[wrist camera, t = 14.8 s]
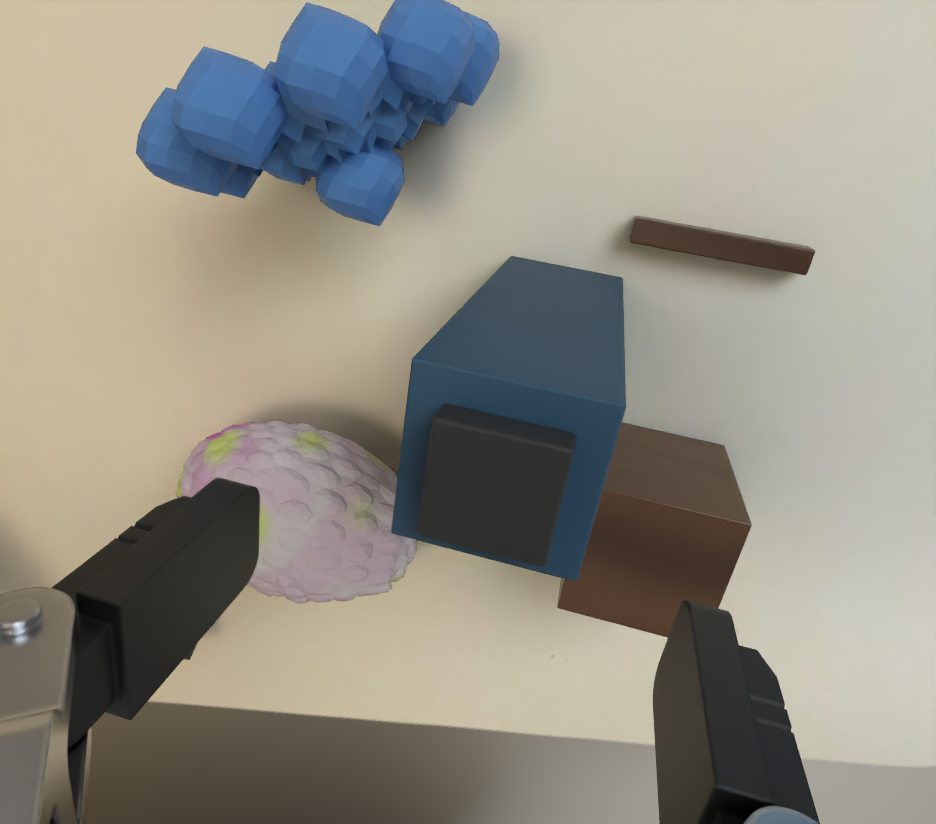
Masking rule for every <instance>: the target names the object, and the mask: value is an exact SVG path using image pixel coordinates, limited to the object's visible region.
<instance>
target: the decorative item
mask: <svg viewBox="0 0 936 824" xmlns="http://www.w3.org/2000/svg"><path fill="white" fill-rule="evenodd" d="M183 468H184V471H183V473H182V474H181V476H180V479H179V482H178V485H179V486H178V488H177V490H176V496H177V498H179V497H182V496H187V497H192V496H194V495H195V494H196V493H197V492H199V491H200V490H201V489H202V488H204V487H205V486H206V485H207V484H208V483H210V482H211V481H212V480H214V479H216V478H223V479H227V480H231V481H235V482H239V483H242V484H246V485H250V486H254V487H256V488H257V489H258V491H259V494H260V519H259V556H258V561H257V565H256V568H255V570H254V573H253V575H252V577H251V579H250V581H249V582H248V584H247V585H251V586H252V587H253V588H255V589H256V590H257V591H258V592H260V593H263V594H265V595H267V596H283V595H284V596H285V597H286V598H287V599H289V600H291V601H293V602H296V603H305V602H308V601H314V602H330V601H332V600H337V601H348V600H352V599H354V598H355V597H356V596H368V595H376V594H379V593H384V592H388V591H389V590H391V589H392V585H391V582H395V581H398V580H399V579H401V578H403V577H404V574H405V572H406V567H407V565H408V564H409V563H410V562H412V560H413V558H414V554H415V552H416V551H417V548H416V542H417V540H415V539H411V538H407V537H403V536H399V535H396V534H393V533H392V532H391V527H392V519H393V511H394V503H395V495H396V486H397V478H398V477H397V476H396V474H395V473H394V471H393V470H392V469H391V468H390V467H388V466H387V465H386V464H385V463H383V462H381V461H380V460H379V459H378V458H376V457H375V456H374V455H372V454H371V453H369V452H368V451H366V450H365V449H364V448H363V447H361V446H360V445H358V444H356V443H355V442H353V441H351V440H349V439H346V438H342V437H341V436H339V435H338V434H336V433H332V432H329V431H325V430H317V429H316V428H314V427H313V426H311V425H307V424H303V423H298V424H297V423H291V424H288V423H285V422H282V421H269V422H266V423H255V422H250V423H246V424H242V425H232V426H230V427H227V428H226V429H224V430H222V431H221V433H216V434H214V435H211V436H209V437H207V438H206V439H205V440H203V441H202V442H200V443H199V444H198V445H197V446H196V447H195V448H194V449H193V450H192V452H191V456H190V457H189V458H188V459H187V460H186V461H185V464H184V467H183Z"/></svg>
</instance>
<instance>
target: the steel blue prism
mask: <svg viewBox="0 0 936 824" xmlns="http://www.w3.org/2000/svg"><path fill="white" fill-rule="evenodd" d="M625 409H626V394H625V353H624V311H623V278H621V277H616V276H611V275H606V274H601V273H596V272H590V271H585V270H580V269H575V268H570V267H565V266H560V265H555V264H549V263H544V262H539V261H534V260H529V259H524V258H519V257H514V256H511V257H510V258H509V259H508V260H507V261H506V262H505V263H504V264H503V265H502V266H501V267H500V268H499V269H498V270H497V271H496V272H495V273H494V274H493V275H492V277H491V278H490V279H489V280H488V281H487V282H486V283H485V284H484V285H483V286H482V287H481V288H480V289H479V290H478V291H477V292H476V293H475V294H474V295H473V296H472V297H471V298H470V299H469V300H468V301H467V302H466V303H465V305H464V306H463V307H462V308H461V309H460V310H459V311H458V312H457V313H456V314H455V315H454V316H453V317H452V318H451V319H450V320H449V321H448V322H447V323H446V324H445V325H444V326H443V327H442V328H441V329H440V330H439V331H438V333H437V334H436V335H435V336H434V337H433V338H432V339H431V340H430V341H429V342H428V343H427V344H426V345H425V346H424V347H423V348H422V349H421V350H420V351H419V352H418V353H417V354H416V355H415V356H414V357H413V359H412V363H411V372H410V380H409V388H408V396H407V404H406V413H405V421H404V429H403V437H402V445H401V454H400V462H399V470H398V478H397V486H396V495H395V503H394V511H393V519H392V527H391V532H392V533H393V534H396V535H399V536H403V537H407V538H411V539H415V540H419V541H422V542H426V543H430V544H434V545H438V546H441V547H445V548H449V549H453V550H457V551H461V552H464V553H468V554H472V555H476V556H480V557H483V558H487V559H491V560H495V561H499V562H503V563H506V564H510V565H514V566H518V567H522V568H525V569H529V570H533V571H537V572H541V573H544V574H548V575H552V576H556V577H560V578H564V579H567V580H571V581H577V579H578V577H579V573H580V570H581V566H582V563H583V559H584V555H585V552H586V548H587V545H588V541H589V538H590V534H591V530H592V527H593V523H594V520H595V516H596V512H597V509H598V505H599V502H600V498H601V495H602V491H603V487H604V484H605V480H606V477H607V473H608V469H609V466H610V462H611V459H612V455H613V452H614V448H615V444H616V441H617V437H618V434H619V430H620V426H621V423H622V419H623V416H624V412H625Z"/></svg>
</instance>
